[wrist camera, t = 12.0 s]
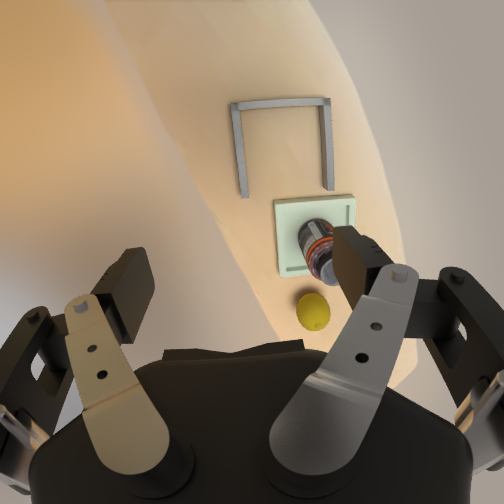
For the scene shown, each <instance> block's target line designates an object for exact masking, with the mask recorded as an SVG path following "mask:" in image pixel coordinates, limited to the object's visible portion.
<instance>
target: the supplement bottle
mask: <svg viewBox="0 0 504 504" xmlns="http://www.w3.org/2000/svg"><path fill="white" fill-rule="evenodd" d="M333 229H334V227H333V226H332V225H331V224H330V223H329V222H328V221H326V220H323V219H312V220H310V221H308V222H306V223H305V224H304V225H303V226H302V227H301V229H300V230H299V233H298V243H299V246H300V249H301V251H302V254H303V256H304V259H305V261H306V264H307V266H308V269H309V271H310V272H311V274H312V275H313V276H314V277H315V278H317V279H319V280H321V281H323V282H324V283H325V284H327V285H329V286H337V285H339V283H338V281H337V279H336V277H335V275H334V272H333V266H332V248H333Z"/></svg>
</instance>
